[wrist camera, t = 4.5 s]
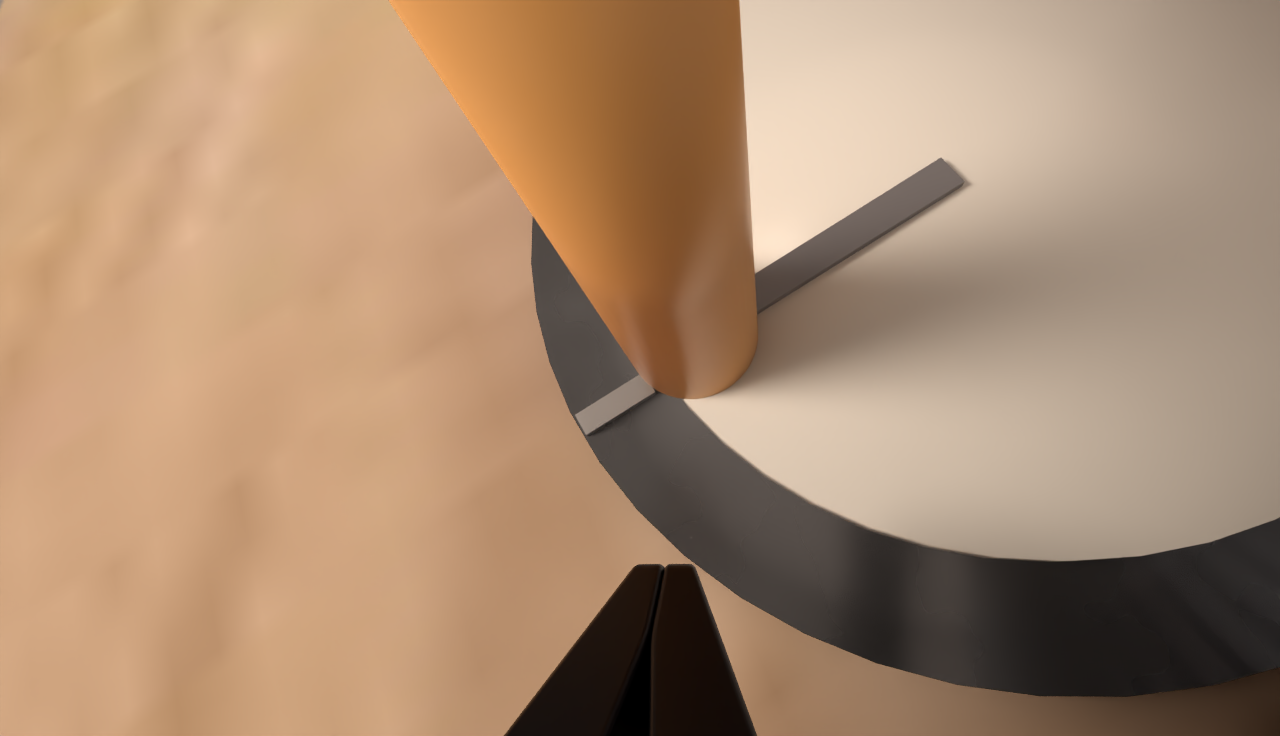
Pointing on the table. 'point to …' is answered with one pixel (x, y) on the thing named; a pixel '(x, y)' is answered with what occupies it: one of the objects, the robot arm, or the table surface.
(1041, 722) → the table surface
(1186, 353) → the dial
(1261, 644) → the dial plate
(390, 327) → the table surface
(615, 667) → the robot arm
